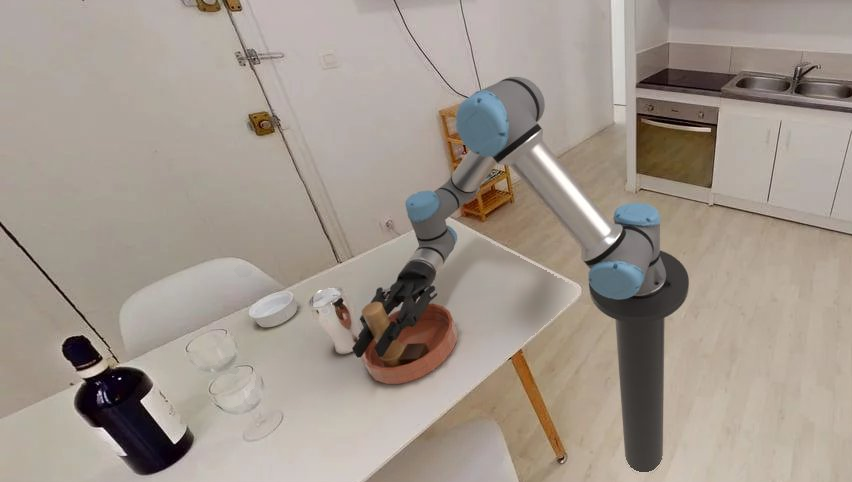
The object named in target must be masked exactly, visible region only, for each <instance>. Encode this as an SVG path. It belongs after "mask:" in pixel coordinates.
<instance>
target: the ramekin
mask: <svg viewBox="0 0 852 482" xmlns="http://www.w3.org/2000/svg"><path fill="white" fill-rule="evenodd" d="M297 310H298V304H297V302H296V300H295V297H294V293H293V292H291V291H287V290H282V291H281V290H280V291H277V292H273V293H271V294H270V293H269V294H268V295H266V296H263V297H262V298H260V299H259V300H257V301H256V302H254V303H253V304H252V306H251V307H250V308H249V310H248V312H247V314H248V316H249V317H250V318H251V319H252V320H254V321H255V322H256V323H257V324H258V326H260V327H262V328H273V327H276V326H279V325H281V324H284V323H285V322H287V321H289V320H290V319H291V318H293V316H294V315H295V314H296V313H297V312H298V311H297Z"/></svg>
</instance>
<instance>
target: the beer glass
mask: <svg viewBox="0 0 852 482" xmlns="http://www.w3.org/2000/svg"><path fill="white" fill-rule="evenodd" d="M307 306H308V307H309V310H310V313H311V315H312V317H313V319H314V320H315V322H316V323H317V325H318V326H319V327H320V328H321V330H323V332H325V333H326V334H327V336H329V337H330V338H331V340H332V342H333V345H334V349H335V352H336V353H338V354H340V355H346V354H350V353H352V352H353V353H354V351H353V349H352V348H353V346H354V345H355V344H356V342H357V341H358V339H359V337H358V336H359V334H360V332H361V331H362V329H361V328H360V327H359V324H358V321H357V316H356V310H355V307H354V305H353V303H352V300H351V299H350V297H349V296H348V294H347V292H346V291H345V289H344V287H342V286H339V285H332V286H328V287H325V288H322V289H320V290H318V291H317V292H315V293H314V294H312V295H311V296H310V297H309V299H308V300H307Z"/></svg>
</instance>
